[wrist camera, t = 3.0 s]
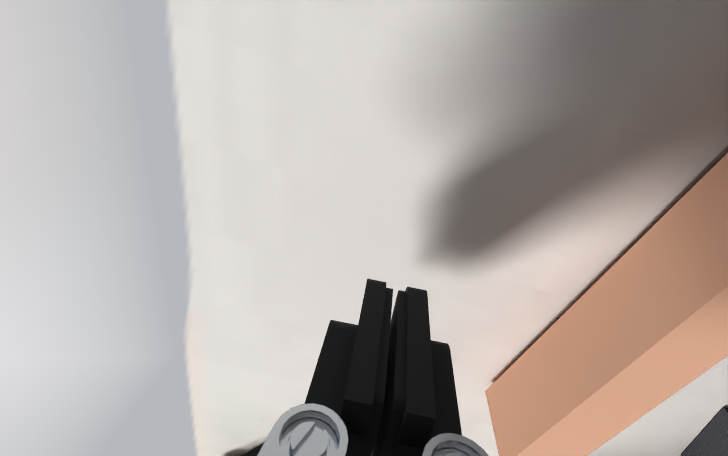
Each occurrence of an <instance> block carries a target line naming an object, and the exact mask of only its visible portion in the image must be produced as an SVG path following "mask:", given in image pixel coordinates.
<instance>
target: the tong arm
mask: <svg viewBox="0 0 728 456" xmlns="http://www.w3.org/2000/svg"><path fill="white" fill-rule="evenodd" d="M727 356H728V153H727V154H726V155H725V156H724V157H723V158H722V159H721V160H720V161H719V162H718V163H717V164H716V165H715V166H714V167H713V168H712V169H711V170H710V171H709V172H708V173H707V174H706V175H705V176H704V177H703V178H701V179H700V180H699V181H698V182H697V183H696V184H695V185H694V186H693V187H692V188H691V189H690V190H689V191H688V192H687V193H686V194H685V195H684V196H683V197H682V198H681V199H680V200H679V201H678V202H677V203H676V204H675V205H674V206H673V207H672V208H671V209H670V210H669V211H668V212H667V213H666V214H665V215H664V216H663V217H662V218H661V219H660V220H659V221H658V222H657V223H656V224H655V225H654V226H653V227H652V228H651V229H650V230H649V231H648V232H647V233H646V234H645V235H644V236H643V237H641V238H640V239H639V240H638V241H637V242H636V243H635V244H634V245H633V246H632V247H631V248H630V249H629V250H628V251H627V252H626V253H625V254H624V255H623V256H622V257H621V258H620V259H619V260H618V261H617V262H616V263H615V264H614V265H613V266H612V267H611V268H610V269H609V270H608V271H607V272H606V273H605V274H604V275H603V276H602V277H601V278H600V279H599V280H598V281H597V282H596V283H595V284H594V285H593V286H592V287H591V288H590V289H589V290H588V291H587V292H586V293H585V294H584V295H583V296H582V297H580V298H579V299H578V300H577V301H576V302H575V303H574V304H573V305H572V306H571V307H570V308H569V309H568V310H567V311H566V312H565V313H564V314H563V315H562V316H561V317H560V318H559V319H558V320H557V321H556V322H555V323H554V324H553V325H552V326H551V327H550V328H549V329H548V330H547V331H546V332H545V333H544V334H543V335H542V336H541V337H540V338H539V339H538V340H537V341H536V342H535V343H534V344H533V345H532V346H531V347H530V348H529V349H528V350H527V351H526V352H525V353H524V354H523V355H522V356H520V357H519V358H518V359H517V360H516V361H515V362H514V363H513V364H512V365H511V366H510V367H509V368H508V369H507V370H506V371H505V372H504V373H503V374H502V375H501V376H500V377H499V378H498V379H497V380H496V381H495V382H494V383H493V384H492V385H491V386H490V387H489V388H488V389H487V390H486V391H485V392H486V396H487V401H488V406H489V411H490V415H491V420H492V425H493V429H494V434H495V439H496V444H497V448H498V453H499V456H587V455H589V454H590V453H591V452H593V451H594V450H596V449H597V448H598V447H600V446H601V445H603V444H604V443H605V442H607V441H608V440H610V439H611V438H612V437H614V436H615V435H617V434H618V433H620V432H621V431H622V430H624V429H625V428H627V427H628V426H629V425H631V424H632V423H634V422H635V421H636V420H638V419H639V418H641V417H642V416H643V415H645V414H646V413H648V412H649V411H651V410H652V409H653V408H655V407H656V406H658V405H659V404H660V403H662V402H663V401H665V400H666V399H667V398H669V397H670V396H672V395H673V394H674V393H676V392H677V391H679V390H680V389H682V388H683V387H684V386H686V385H687V384H689V383H690V382H691V381H693V380H694V379H696V378H697V377H698V376H700V375H701V374H703V373H704V372H705V371H707V370H708V369H710V368H711V367H713V366H714V365H715V364H717V363H718V362H720V361H721V360H722V359H724V358H725V357H727Z"/></svg>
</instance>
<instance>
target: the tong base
mask: <svg viewBox="0 0 728 456" xmlns="http://www.w3.org/2000/svg"><path fill="white" fill-rule="evenodd" d="M680 456H728V409H727V408H722V409H721V411H720V412H719V413H718V414H717V415H716V416H715V417H714V418H713V420H712V421H711V422H710V423H709V424H708V425H707V426H706V427H705V428H704V430H703V431H702V432H701V433H700V434H699V435H698V436H697V437H696V439H695V440H694V441H693V442H692V443H691V444H690V445H689V446H688V448H687V449H686V450H685V451H684V452H683V453H682V454H681V455H680Z"/></svg>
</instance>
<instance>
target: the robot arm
mask: <svg viewBox="0 0 728 456" xmlns="http://www.w3.org/2000/svg"><path fill="white" fill-rule="evenodd" d="M392 296H393V289H390V288H386V282H381V281H376V280H371V279H367V284H366V289H365V294H364V299H363V304H362V309H361V314H360V319H359V324H358V325H354V324H349V323H344V322H339V321H334V320H331V321H330V323H329V326H328V330H327V333H326V336H325V339H324V343H323V346H322V349H321V352H320V356H319V359H318V362H317V365H316V369H315V372H314V375H313V378H312V382H311V385H310V388H309V391H308V395H307V398H306V401H305V404H301V405H298V406H295V407H293V408H291V409H289V410H288V411H286V412H285V413H284V414H282V415H281V417H280V418H279V419H278V420H277V422H276V423H275V425H274V426H273V428H272V430H271V432H270V434H269V435H268V437H267V439H266V441H265V443H264V444H262V445H260V446H258V447H257V448H255V449H253V450H251V451H249V452H247V453H246V454H244V455H242V456H488V454H487V453H486V452H485V451H484V449H482V448H481V447H480V446H479V445H478V444H476V443H475V442H474V441H472V440H470V439H468V438H466V437H464V436H462V433H461V426H460V418H459V411H458V404H457V396H456V389H455V382H454V375H453V367H452V360H451V353H450V348H449V345H448V344H446V343H441V342H437V341H432V340H431V339H430V325H429V311H428V297H427V291H426V290H421V289H416V288H411V287H407V288H406V291H400V290H399V291H398V294H397V298H396V302H395V306H394V311H393V315H392V319H391V309H392ZM390 322H391V323H390Z"/></svg>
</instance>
